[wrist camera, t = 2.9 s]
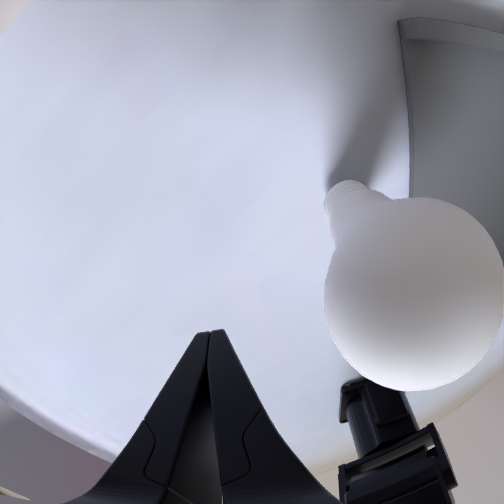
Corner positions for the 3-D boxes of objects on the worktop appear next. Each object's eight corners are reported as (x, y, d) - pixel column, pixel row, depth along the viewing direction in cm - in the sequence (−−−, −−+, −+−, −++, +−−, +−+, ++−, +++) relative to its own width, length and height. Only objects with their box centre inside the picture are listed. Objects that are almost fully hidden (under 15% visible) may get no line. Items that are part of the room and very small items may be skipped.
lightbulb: (265, 166, 15) (333, 346, 5) (380, 123, 14) (561, 228, 5) (305, 264, 18) (368, 448, 9) (402, 225, 17) (518, 370, 8)
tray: (506, 274, 20) (519, 288, 18) (398, 309, 21) (410, 328, 19) (529, 46, 11) (550, 49, 9) (397, 20, 11) (418, 17, 9)
